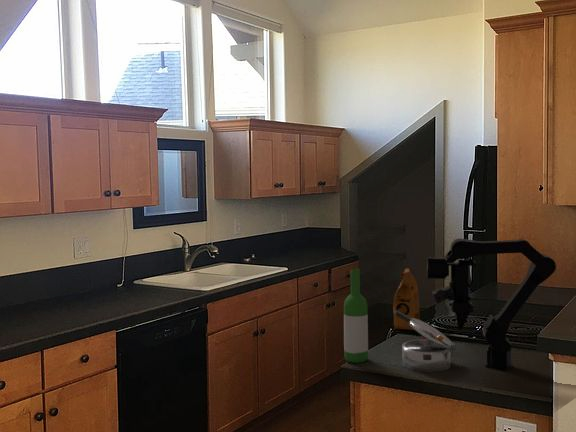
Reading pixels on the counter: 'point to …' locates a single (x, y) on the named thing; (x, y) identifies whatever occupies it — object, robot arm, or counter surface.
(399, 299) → the coffee package
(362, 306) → the wine bottle
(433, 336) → the lid
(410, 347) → the cooker pot
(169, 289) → the counter surface
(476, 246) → the robot arm
